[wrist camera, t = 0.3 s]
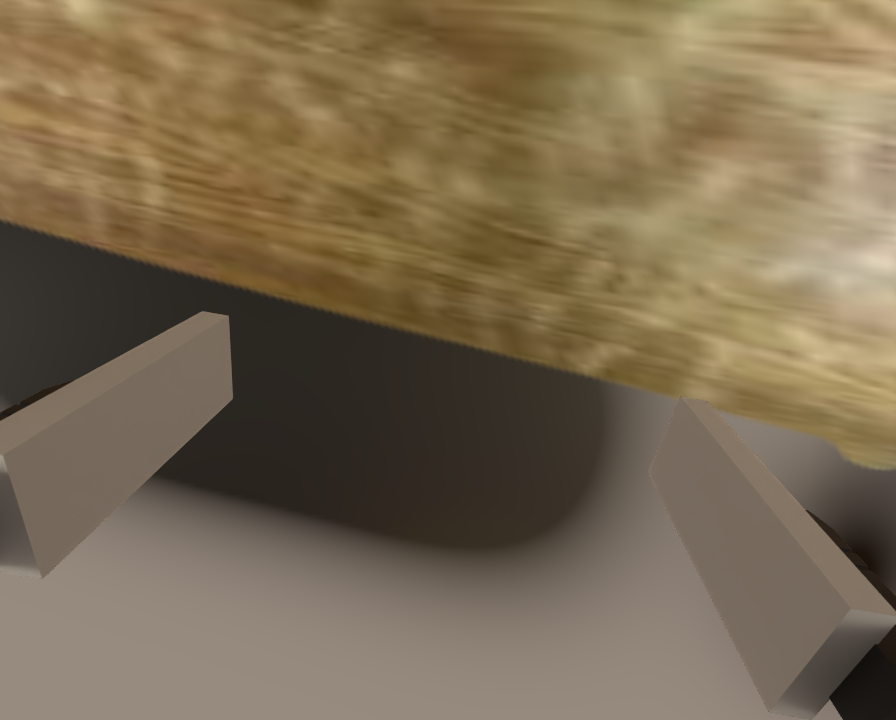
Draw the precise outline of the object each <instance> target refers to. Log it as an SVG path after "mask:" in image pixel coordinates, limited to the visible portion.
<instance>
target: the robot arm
mask: <svg viewBox="0 0 896 720" xmlns="http://www.w3.org/2000/svg"><path fill="white" fill-rule="evenodd" d="M232 399H233V393H232V374H231V355H230V334H229V316H226V315H220V314H215V313H209V312H203V311H202V312H201V313H199V314H197V315H195V316H193V317H191V318H189V319H188V320H186V321H184V322H182V323H180V324H178V325H176V326H175V327H173V328H171V329H169V330H167V331H165V332H163V333H162V334H160V335H158V336H156V337H154V338H152V339H151V340H149V341H147V342H145V343H143V344H141V345H140V346H138V347H136V348H134V349H132V350H130V351H128V352H127V353H125V354H123V355H121V356H119V357H118V358H116V359H114V360H112V361H110V362H108V363H106V364H104V365H103V366H101V367H99V368H97V369H95V370H93V371H92V372H90V373H88V374H86V375H84V376H82V377H81V378H79V379H77V380H73V381H70V382H67V383H63V384H60V385H57V386H54V387H51V388H47V389H44V390H42V391H40V392H39V393H37V394H35V395H33V396H31V397H29V398H27V399H25V400H23V401H21V403H20V405H14V406H12V407H10V408H8V409H6V410H5V411H3V412H1V413H0V572H5V573H10V574H15V575H21V576H26V577H32V578H38V579H43V578H44V577H45V576H46V575H47V574H48V573H49V572H50V571H52V570H53V569H54V568H55V567H56V566H57V565H58V564H59V563H60V562H61V561H62V560H63V559H64V558H65V557H66V556H67V555H68V554H69V553H71V551H73V550H74V549H75V548H76V547H77V546H78V545H79V544H80V543H81V542H82V541H83V540H84V539H85V538H86V537H87V536H88V535H90V534H91V533H92V532H93V531H94V530H95V529H96V528H97V527H98V526H99V525H100V524H101V523H102V522H103V521H104V520H105V519H106V518H107V517H108V516H110V515H111V514H112V513H113V512H114V511H115V510H116V509H117V508H118V507H119V506H120V505H121V504H122V503H123V502H124V501H125V500H126V499H127V498H128V497H129V496H131V495H132V494H133V493H134V492H135V491H136V490H137V489H138V488H139V487H140V486H141V485H142V484H143V483H144V482H145V481H146V480H147V479H148V478H149V477H151V476H152V475H153V474H154V473H155V472H156V471H157V470H158V469H159V468H160V467H161V466H162V465H163V464H164V463H165V462H166V461H167V460H169V459H170V458H171V457H172V456H173V454H175V453H176V452H177V451H178V450H179V449H180V448H181V447H182V446H183V445H184V444H185V443H186V442H187V441H188V440H190V439H191V438H192V437H193V436H194V435H195V434H196V433H197V432H198V431H199V430H200V429H201V428H202V427H203V426H204V425H205V424H206V423H207V422H209V420H211V419H212V417H214V416H215V415H216V414H217V413H218V412H219V411H220V410H221V409H222V408H223V407H224V406H225V405H226V404H227V403H228V402H230V401H231V400H232ZM648 475H649V477H650V479H651V481H652V482H653V484H654V486H655V488H656V490H657V492H658V494H659V496H660V498H661V500H662V502H663V504H664V506H665V508H666V510H667V512H668V514H669V516H670V518H671V520H672V522H673V524H674V526H675V528H676V530H677V532H678V534H679V536H680V538H681V540H682V542H683V544H684V546H685V548H686V550H687V552H688V554H689V556H690V558H691V560H692V561H693V564H694V566H695V567H696V570H697V572H698V574H699V576H700V578H701V579H702V581H703V583H704V585H705V587H706V589H707V591H708V593H709V595H710V597H711V599H712V601H713V603H714V605H715V607H716V609H717V611H718V613H719V615H720V617H721V619H722V621H723V623H724V625H725V627H726V629H727V631H728V633H729V635H730V637H731V639H732V641H733V643H734V645H735V647H736V649H737V651H738V653H739V654H740V657H741V659H742V660H743V663H744V665H745V666H746V669H747V670H748V672H749V674H750V676H751V678H752V680H753V682H754V684H755V686H756V688H757V690H758V692H759V694H760V696H761V698H762V700H763V702H764V704H765V706H766V708H767V710H768V712H770V713H775V714H781V715H786V716H792V717H798V718H803V719H809V720H812V719H813V718H814V717H815V716H816V714H817V713H818V712H819V711H820V710H821V709H822V708H823V706H824V705H825V704H826V703H827V702H828V701H829V700H831V701H832V703H833V705H834V706H835V708H836V709H837V711H838V713H839V714H840V716H841V717H842V719H843V720H896V596H895V595H894V594H893V593H892V592H891V591H890V590H889V589H888V588H887V587H886V586H885V585H884V583H883V582H882V581H881V580H880V579H879V578H878V577H877V576H876V575H875V574H874V573H873V572H872V571H869V570H868V566H867V565H866V564H865V563H864V562H863V561H862V560H861V559H860V558H859V557H858V555H857V554H853V553H852V549H851V548H850V547H849V546H848V545H847V544H846V542H844V540H843V539H842V538H841V537H840V536H839V535H838V534H837V533H836V532H835V531H834V530H833V529H832V528H831V527H829V526H828V525H827V524H826V523H824V522H823V521H822V520H820V519H819V518H818V517H816V516H815V515H814V514H812V513H811V512H809V511H808V510H804V508H803V507H802V506H801V505H800V504H799V503H798V502H797V501H796V499H795V498H794V497H793V496H792V495H791V494H790V493H789V492H788V491H787V489H786V488H785V487H784V486H783V485H782V484H781V483H780V482H779V481H778V479H777V478H776V477H775V476H774V475H773V474H772V473H771V472H770V470H769V469H768V468H767V467H766V466H765V465H764V464H763V463H762V462H761V460H760V459H759V458H758V457H757V456H756V455H755V454H754V453H753V452H752V450H751V449H750V448H749V447H748V446H747V445H746V444H745V443H744V442H743V440H741V438H740V437H739V436H738V435H737V434H736V433H735V432H734V431H733V429H732V428H731V427H730V426H729V425H728V424H727V423H726V422H725V420H724V419H723V418H722V417H721V416H720V415H719V414H718V413H717V411H716V410H715V409H714V408H713V407H712V406H711V405H710V404H709V402H708V401H704V400H699V399H693V398H687V397H682V396H680V399H679V401H678V403H677V406H676V408H675V410H674V413H673V415H672V417H671V420H670V422H669V424H668V427H667V429H666V431H665V434H664V436H663V439H662V441H661V443H660V445H659V448H658V450H657V452H656V455H655V457H654V459H653V462H652V464H651V466H650V468H649V471H648Z"/></svg>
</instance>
